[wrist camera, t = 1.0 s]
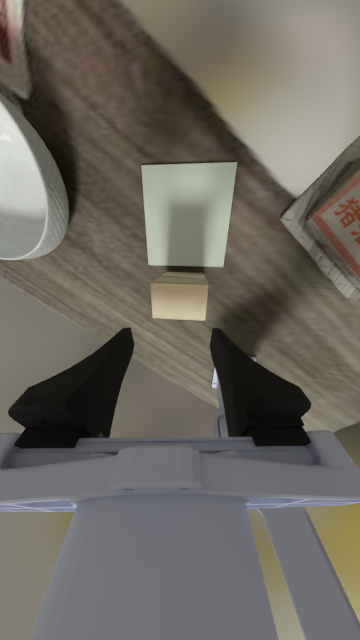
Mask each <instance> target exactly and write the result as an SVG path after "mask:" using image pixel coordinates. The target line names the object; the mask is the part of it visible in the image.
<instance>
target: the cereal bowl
mask: <svg viewBox="0 0 360 640" xmlns="http://www.w3.org/2000/svg"><path fill="white" fill-rule="evenodd" d="M68 221H69V206H68V198H67V193H66V189H65V185H64V183H63V179H62V177H61V174H60V172H59V169H58V167H57V165H56V163H55V161H54V158H53V157H52V155H51V153H50V151H49V150H48V148H47V147H46V145H45V143H44V142H43V140H42V139H41V138H40V136H39V135H38V133H37V132H36V131H35V129H34V128H33V127H32V126H31V124H30V123H29V122H28V121H27V120H26V119H25V117H24V116H23V115H22V114H21V113H20V112H19V111H18V110H17V109H16V108H15V106H14V105H13V104H12V103H11V102H10V101H8V100H7V99H6V98H5V97H4V96H3V94H2V93H0V259H5V260H21V259H31V258H36V257H39V256H43V255H45V254H48V253H49V252H51V251H53V250H54V249H55V248H56V247H57V246H58V245H59V244H60V242H61V241H62V240H63V238H64V237H65V234H66V231H67V228H68Z"/></svg>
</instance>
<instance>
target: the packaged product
mask: <svg viewBox="0 0 360 640" xmlns="http://www.w3.org/2000/svg"><path fill="white" fill-rule="evenodd" d="M280 220H281V222H282V223H283V224H284V226H285V227H286V228H287V230H288V231H289V232H290V233H291V234H292V235H293V236H294V238H295V239H296V240H297V241H298V242H299V243H300V244H301V245H302V246H303V247H304V249H305V250H306V251H307V252H308V254H309V255H310V256H311V258H312V259H313V260H314V261H315V262H316V264H317V265H318V267H319V268H320V270H321V271H322V272H323V273H324V274H325V275H326V276H327V277H328V278H330V279H331V281H332V282H333V284H334V285H335V286H336V287H337V289H338V290H339V291H340V292H341V293H342V294H343V295H344V296H345V297H346V298H347V299H348V301H349V302H350V303H353V302H354V301H355V300H357V299H359V298H360V136H359V137H358V138H357V139H356V140H355V141H354V142H353V143H351V144H350V145H349V146H348V147H347V148H346V149H345V150H344V151H343V152H342V153H341V154H340V155H339V156H338V158H337V159H336V160H335V161H334V162H333V163H332V164H331V165H330V166H329V167H328V168H327V169H326V170H325V172H323V174H321V175H320V177H319V178H317V180H315V182H313V183H312V185H311V186H310V187H309V188H308V189H307V190H306V191H305V192H304V193H303V194H302V195H301V196H300V197H299V198H298V199H297V200H296V201H295V202H294V203H293V204H292V205H291V206H290V207H289V208H288V210H287V211H286V212H285V213H284V214H283V216H282V217H281V218H280Z"/></svg>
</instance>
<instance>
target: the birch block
mask: <svg viewBox="0 0 360 640" xmlns="http://www.w3.org/2000/svg"><path fill="white" fill-rule="evenodd" d="M150 285H151V299H152V313H153V318H164V319H183V320H201V321H205V315H206V305H207V295H208V283H207V280H206V278H205V276H204V273H195V272H166V273H165V274H163V275H162V276H160V277H159V278H157V279H156V280H154V281H153V282H151V283H150Z"/></svg>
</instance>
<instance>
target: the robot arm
mask: <svg viewBox="0 0 360 640" xmlns="http://www.w3.org/2000/svg"><path fill="white" fill-rule="evenodd" d="M133 349H134V341H133V337H132V332H131V328H123V329H122V330H120V331H119V332H118V333H117V334H116V335H115V336H114V337H113V338H111V339H110V340H109V341H108V342H107V343H106V344H104V345H103V346H102V347H101V348H99V349H98V350H97V351H95V352H94V353H93V354H91V355H90V356H88V357H87V358H85V359H84V360H82V361H81V362H79V363H77V364H76V365H74V366H72V367H71V368H69V369H67V370H65V371H63V372H61V373H59V374H57V375H55V376H53V377H51V378H49V379H47V380H45V381H42V382H40V383H38V384H36V385H34V386H31V387H29V388H28V389H27V390H26V391H25V392H24V393H23V394H22V395H21V396H20V397H19V399H18V400H17V401H16V402H15V403H14V404H13V405H12V406H11V407H10V409H9V411H8V414H9V416H10V417H11V418H13V419H14V420H15V421H17V422H18V423H19V424H21V425H22V426H24V427H25V428H26V429H25V430H24V432H23V433H22V434H18V433H0V511H40V512H41V511H42V512H47V511H49V512H74V515H73V518H72V521H71V524H70V526H69V529H68V532H67V535H66V538H65V540H64V543H63V546H62V549H61V552H60V554H59V558H58V560H57V563H56V566H55V569H54V571H53V574H52V577H51V580H50V582H49V585H48V588H47V591H46V594H45V597H44V599H43V602H42V605H41V608H40V610H39V613H38V616H37V619H36V622H35V624H34V627H33V630H32V633H31V635H30V638H29V640H278V636H277V632H276V628H275V624H274V620H273V615H272V611H271V607H270V603H269V599H268V595H267V591H266V586H265V582H264V578H263V574H262V570H261V566H260V561H259V557H258V553H257V549H256V545H255V541H254V537H253V533H252V528H251V524H250V520H249V516H248V512H247V509H254V508H256V509H257V510H258V511H259V512H260V513H261V514H262V516H263V518H264V521H265V525H266V527H267V530H268V533H269V536H270V539H271V542H272V545H273V547H274V550H275V553H276V556H277V559H278V562H279V565H280V568H281V570H282V573H283V576H284V579H285V582H286V585H287V588H288V591H289V593H290V596H291V599H292V602H293V605H294V608H295V610H296V614H297V617H298V619H299V622H300V625H301V628H302V631H303V634H304V637H305V640H360V623H359V620H358V619H357V616H356V614H355V612H354V610H353V608H352V606H351V604H350V602H349V599H348V597H347V595H346V593H345V591H344V589H343V587H342V584H341V582H340V580H339V578H338V576H337V574H336V572H335V570H334V568H333V565H332V563H331V561H330V559H329V557H328V555H327V553H326V551H325V549H324V546H323V544H322V542H321V540H320V538H319V536H318V534H317V532H316V529H315V527H314V525H313V523H312V521H311V519H310V517H309V515H308V513H307V511H306V508H305V507H306V506H324V505H325V506H326V505H347V504H353V503H359V502H360V470H359V469H358V467H357V466H356V464H355V463H354V462H353V460H352V459H351V458H350V456H349V455H348V454H347V452H346V451H345V450H344V448H343V447H342V445H341V444H340V443H339V442H338V440H337V439H336V437H335V436H334V435H333V433H332V432H331V431H308V432H305V430H304V429H303V427H302V426H304V423H303V421H302V420H301V417H302V416H303V415H304V414H305V413H306V412H307V411H308V410H309V409H310V407H311V402H310V401H309V399H308V398H307V397H306V395H305V394H304V392H303V391H302V390H301V389H300V387H298V386H296V385H294V384H292V383H290V382H288V381H286V380H284V379H282V378H281V377H279V376H277V375H275V374H274V373H272V372H270V371H269V370H267V369H266V368H264V367H263V366H261V365H260V364H258V363H257V362H256V358H255V357H249V356H247V355H246V354H245V353H244V352H243V351H242V350H240V349H239V348H238V347H237V346H236V345H235V344H234V343H233V342H232V341H231V340H230V339H229V338H228V337H227V336H226V335H225V333H224V332H223V331H222V330H221V329H220V328H213V331H212V336H211V342H210V350H211V356H212V359H213V363H214V373H213V379H212V387H213V388H216V390H217V396H218V403H219V413H220V416H218V417H216V419H215V422H214V426H213V427H214V428H213V431H214V437H178V438H177V437H175V438H109V436H110V431H111V426H112V421H113V416H114V412H115V407H116V403H117V399H118V395H119V391H120V388H121V384H122V381H123V378H124V375H125V372H126V370H127V367H128V365H129V362H130V359H131V357H132V353H133Z"/></svg>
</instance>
